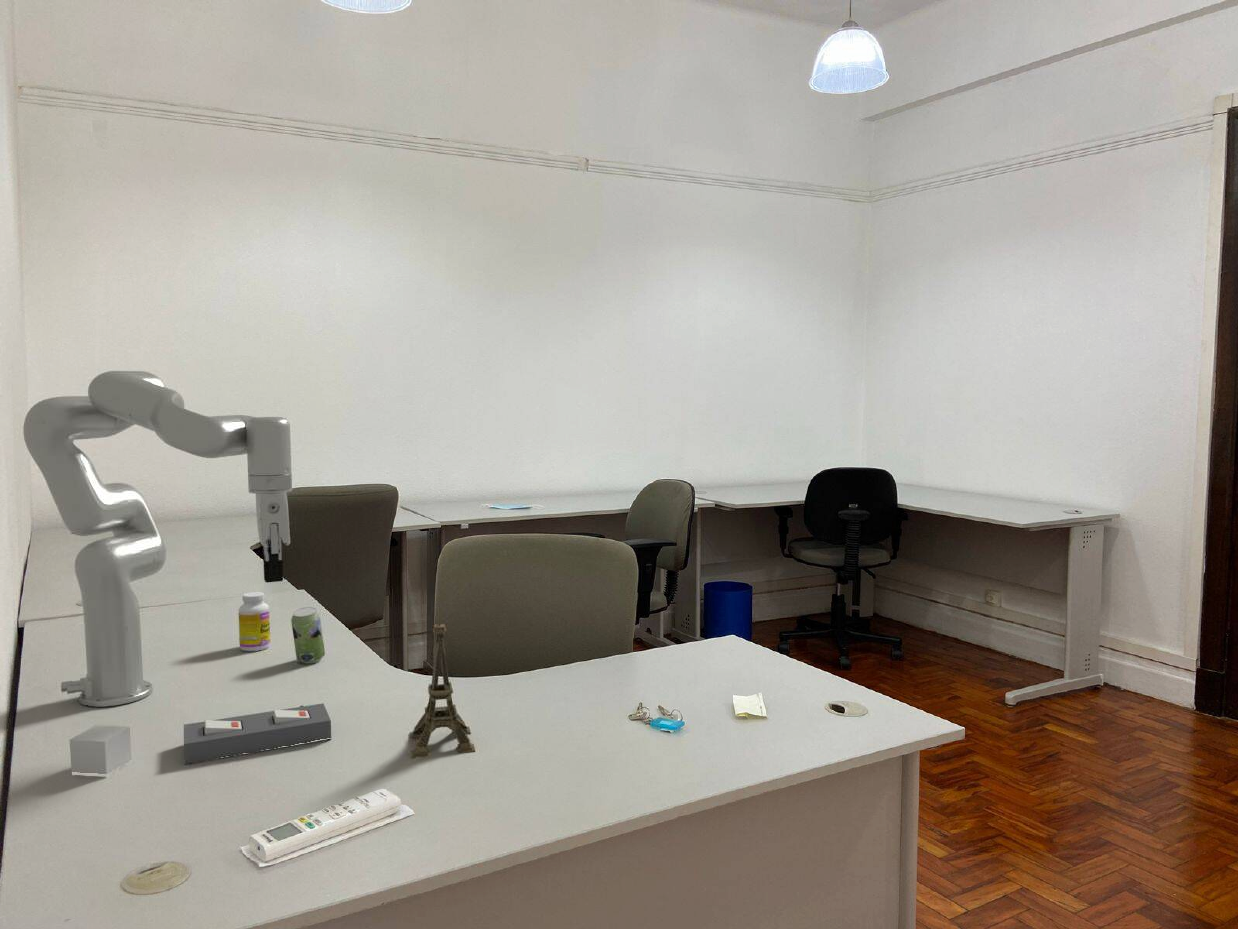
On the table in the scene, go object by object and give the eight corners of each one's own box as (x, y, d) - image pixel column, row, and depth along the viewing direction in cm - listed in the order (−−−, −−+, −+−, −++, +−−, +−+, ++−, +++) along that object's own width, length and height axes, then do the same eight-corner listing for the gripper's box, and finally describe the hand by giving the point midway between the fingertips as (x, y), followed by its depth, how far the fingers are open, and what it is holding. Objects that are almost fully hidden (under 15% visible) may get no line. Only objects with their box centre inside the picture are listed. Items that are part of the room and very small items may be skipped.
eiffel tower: (411, 759, 146) (408, 612, 144) (409, 734, 156) (406, 596, 154) (475, 752, 149) (473, 607, 147) (469, 728, 159) (467, 592, 157)
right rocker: (275, 723, 152) (276, 716, 152) (273, 716, 155) (274, 709, 155) (308, 724, 154) (310, 716, 154) (306, 717, 158) (307, 710, 158)
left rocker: (204, 734, 147) (206, 726, 147) (204, 727, 150) (205, 719, 150) (240, 735, 150) (242, 728, 150) (239, 728, 153) (240, 720, 153)
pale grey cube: (97, 760, 146) (95, 725, 145) (131, 762, 145) (129, 726, 144) (71, 776, 140) (69, 739, 139) (106, 778, 139) (104, 741, 138)
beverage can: (329, 657, 199) (328, 605, 198) (315, 667, 192) (313, 613, 191) (303, 656, 200) (301, 604, 199) (287, 666, 193) (285, 612, 192)
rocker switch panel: (184, 764, 144) (183, 744, 143) (184, 728, 158) (183, 710, 158) (331, 739, 154) (330, 720, 153) (318, 708, 168) (317, 690, 168)
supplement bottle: (263, 652, 203) (261, 597, 201) (234, 652, 203) (232, 597, 201) (275, 643, 209) (273, 590, 208) (247, 643, 209) (245, 590, 208)
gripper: (296, 487, 158) (299, 587, 160) (287, 478, 171) (290, 571, 173) (251, 489, 155) (255, 591, 156) (245, 480, 168) (249, 575, 170)
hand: (273, 580), depth 165 cm, fingers closed
